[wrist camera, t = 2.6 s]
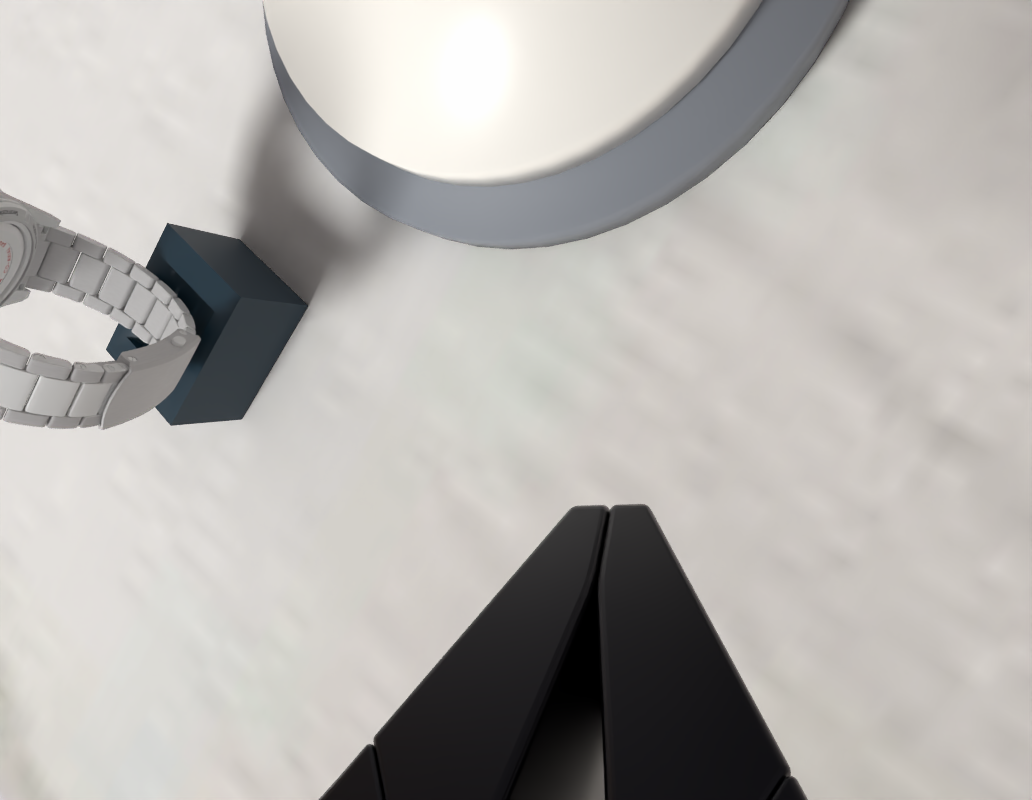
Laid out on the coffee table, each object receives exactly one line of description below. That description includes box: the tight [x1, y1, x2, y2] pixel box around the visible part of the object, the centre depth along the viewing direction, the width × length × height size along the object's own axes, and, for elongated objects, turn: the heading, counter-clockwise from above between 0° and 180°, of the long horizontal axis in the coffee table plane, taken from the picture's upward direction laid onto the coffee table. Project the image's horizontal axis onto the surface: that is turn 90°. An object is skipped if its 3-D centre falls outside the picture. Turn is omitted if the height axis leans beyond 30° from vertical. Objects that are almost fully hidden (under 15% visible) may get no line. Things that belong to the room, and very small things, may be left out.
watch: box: [0, 189, 308, 430], centre depth 21 cm, size 6×8×11 cm
